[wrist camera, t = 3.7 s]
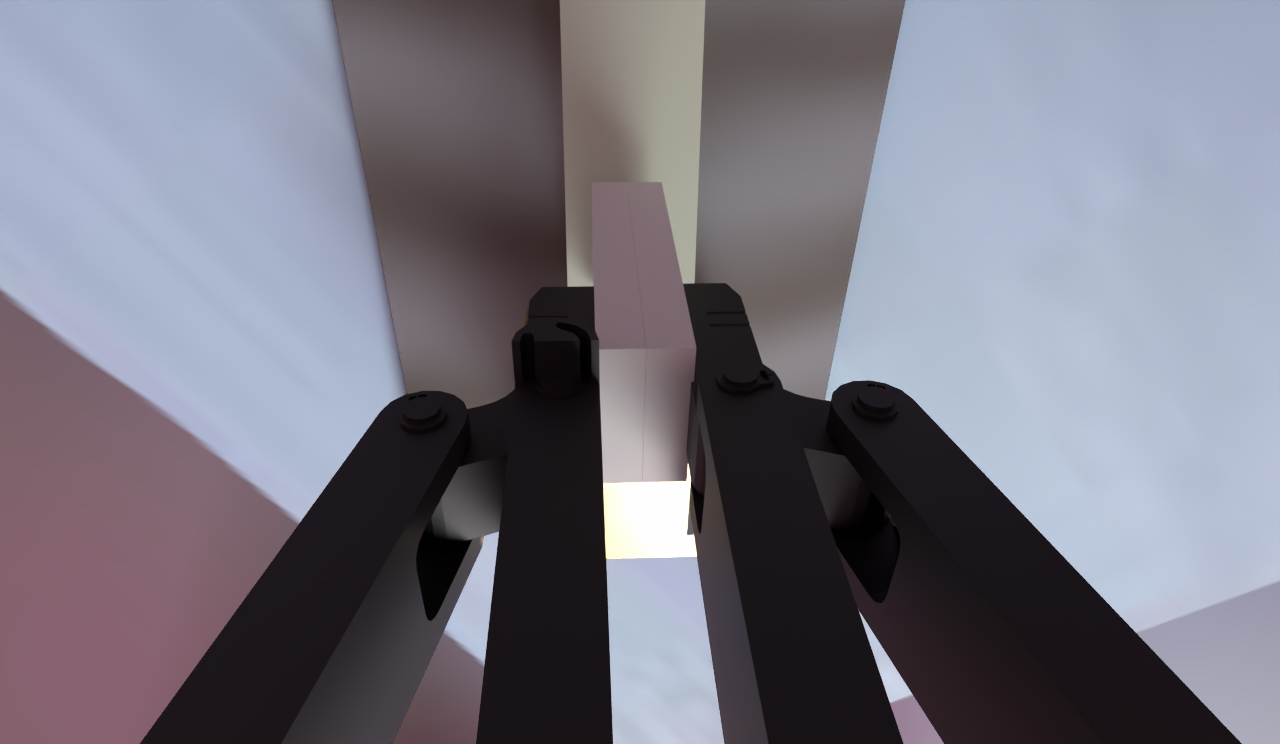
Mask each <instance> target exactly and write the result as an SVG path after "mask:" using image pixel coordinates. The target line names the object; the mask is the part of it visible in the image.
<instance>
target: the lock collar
mask: <svg viewBox="0 0 1280 744" xmlns="http://www.w3.org/2000/svg"><path fill="white" fill-rule="evenodd" d="M528 311H529V309H526V317H525V325H527V320H528ZM690 484H691V477H690V471H689V465H688V470H687V481H681V482H640V483H603V489H604V516H605V544H606V559H613V558H651V557H689V556H697V553H696V547H695V540H694V533H693V535H688V536H687V523H688V510H689V497H690Z"/></svg>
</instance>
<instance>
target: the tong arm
mask: <svg viewBox="0 0 1280 744" xmlns="http://www.w3.org/2000/svg"><path fill="white" fill-rule="evenodd" d="M704 24H705V0H560V27H561V64H562V101H563V138H564V175H565V212H566V248H567V285H568V287H581V286H593V239H592V182H662V187H663V192H664V196H665V201H666V206H667V211H668V215H669V220H670V225H671V229H672V234H673V239H674V244H675V248H676V253H677V258H678V263H679V267H680V272H681V277H682V282H683V284H689V283H695V259H696V233H697V207H698V180H699V154H700V128H701V102H702V76H703V50H704Z"/></svg>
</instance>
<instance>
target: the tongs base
mask: <svg viewBox="0 0 1280 744" xmlns="http://www.w3.org/2000/svg"><path fill="white" fill-rule="evenodd" d="M332 2H333V7H334V12H335V18H336V23H337V28H338V33H339V39H340V44H341V49H342V54H343V60H344V65H345V70H346V76H347V81H348V86H349V91H350V97H351V102H352V107H353V113H354V118H355V123H356V128H357V134H358V139H359V144H360V149H361V155H362V160H363V165H364V171H365V176H366V181H367V186H368V192H369V197H370V202H371V207H372V213H373V218H374V223H375V229H376V234H377V239H378V244H379V250H380V255H381V260H382V266H383V271H384V276H385V281H386V287H387V292H388V297H389V302H390V308H391V313H392V318H393V324H394V329H395V334H396V339H397V345H398V350H399V355H400V360H401V366H402V371H403V376H404V382H405V387H406V392H407V394H410V393H415V392H420V391H442V392H446V393H449V394H453V395H455V396H456V397H458V398H459V399H461V400H462V401H463V402H464V403H465V405H466V408H467V409H470V408H474V407H478V406H483V405H486V404H489V403H492V402H495V401H497V400H499V399H501V398H503V397H505V396H507V395H508V394H509V393H511V392H512V391H513V390H514V389H515V379H514V368H513V356H512V344H511V341H512V339H513V337H514V335H515V333H516V332H517V331H518V330H520V329H521V328H523V327H524V326H525V317H526V309H529V301H530V300H531V298H532V297H533V296H534V295H535V294H536V293H537V292H538V291H539V290H540V288H541V287H568V285H567V248H566V212H565V175H564V138H563V101H562V64H561V27H560V0H332ZM904 4H905V0H705V24H704V50H703V76H702V102H701V128H700V154H699V180H698V207H697V233H696V259H695V283H726V284H727V285H729V286H730V287H731V288H732V289H733V290H734V291H735V292H737V293H738V294H739V295H740V296H741V298H742V301H743V305H744V308H745V311H746V314H747V317H748V320H749V323H750V327H751V329H752V332H753V335H754V339H755V342H756V345H757V348H758V351H759V354H760V357H761V360H762V363H763V364H764V365H765V366H767V367H768V368H770V369H771V370H773V371H774V372H775V373H776V374H777V376H778V377H779V379H780V380H781V383H782V386H783V389H785V390H787V391H790V392H792V393H794V394H798V395H801V396H805V397H810V398H815V399H820V400H825V396H826V391H827V386H828V381H829V376H830V371H831V366H832V361H833V356H834V351H835V346H836V341H837V336H838V331H839V326H840V321H841V316H842V311H843V306H844V301H845V296H846V292H847V287H848V282H849V277H850V272H851V267H852V262H853V257H854V252H855V247H856V242H857V237H858V232H859V227H860V222H861V217H862V212H863V207H864V202H865V197H866V192H867V187H868V183H869V178H870V173H871V168H872V163H873V158H874V153H875V148H876V143H877V138H878V133H879V128H880V123H881V118H882V113H883V108H884V103H885V98H886V93H887V88H888V83H889V78H890V73H891V69H892V64H893V59H894V54H895V49H896V44H897V39H898V34H899V29H900V24H901V19H902V14H903V9H904Z"/></svg>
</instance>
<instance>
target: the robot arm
mask: <svg viewBox="0 0 1280 744" xmlns="http://www.w3.org/2000/svg"><path fill="white" fill-rule="evenodd" d="M592 239H593V286H581V287H541V288H540V290H539V291H538V292H537V293H536V294H535V295H534V296H533V297H532V298H531V300H530V301H529V311H528V320H527V325H525V326H524V327H523V328H521V329H520V330H518V331H517V332H516V333H515V335H514V337H513V339H512V341H511V344H512V356H513V368H514V379H515V389H514V390H513V391H512V392H511V393H509V394H508V395H507V396H505V397H503V398H501V399H499V400H497V401H495V402H492V403H489V404H486V405H483V406H478V407H474V408H470V409H467V408H466V405H465V403H464V402H463V401H462V400H461V399H459V398H458V397H456V396H455V395H453V394H449V393H446V392H442V391H420V392H415V393H410V394H406V395H404V396H402V397H400V398H398V399H396V400H394V401H391V402H390V403H389V404H388V405H387V406H386V407H385V408H384V409H383V410H382V411H381V412H380V413H379V414H378V416H377V417H376V419H375V420H374V421H373V423H372V424H371V426H370V427H369V428H368V430H367V431H366V432H365V434H364V435H363V437H362V438H361V439H360V441H359V442H358V443H357V445H356V446H355V448H354V449H353V450H352V452H351V453H350V455H349V456H348V457H347V459H346V460H345V461H344V463H343V464H342V466H341V467H340V468H339V470H338V471H337V472H336V474H335V475H334V477H333V478H332V479H331V481H330V482H329V483H328V485H327V486H326V488H325V489H324V490H323V492H322V493H321V495H320V496H319V497H318V499H317V500H316V501H315V503H314V504H313V506H312V507H311V508H310V510H309V511H308V512H307V514H306V515H305V517H304V518H303V519H302V521H301V522H300V524H299V525H298V526H297V528H296V529H295V530H294V532H293V533H292V535H291V536H290V537H289V539H288V540H287V541H286V543H285V544H284V546H283V547H282V548H281V550H280V551H279V553H278V554H277V555H276V557H275V558H274V560H273V561H272V562H271V564H270V565H269V566H268V568H267V569H266V570H265V572H264V573H263V575H262V576H261V577H260V579H259V580H258V582H257V583H256V584H255V586H254V587H253V588H252V590H251V591H250V592H249V594H248V595H247V597H246V598H245V599H244V601H243V602H242V604H241V605H240V606H239V608H238V609H237V610H236V612H235V613H234V615H233V616H232V617H231V619H230V620H229V621H228V623H227V624H226V626H225V627H224V628H223V630H222V631H221V633H220V634H219V635H218V637H217V638H216V639H215V641H214V642H213V644H212V645H211V646H210V648H209V649H208V650H207V652H206V653H205V655H204V656H203V657H202V659H201V660H200V662H199V663H198V664H197V666H196V667H195V669H194V670H193V671H192V673H191V674H190V675H189V677H188V678H187V679H186V681H185V682H184V684H183V685H182V686H181V688H180V689H179V690H178V692H177V693H176V695H175V696H174V697H173V699H172V700H171V702H170V703H169V704H168V706H167V707H166V708H165V710H164V711H163V713H162V714H161V715H160V717H159V718H158V719H157V721H156V722H155V724H154V725H153V726H152V728H151V729H150V730H149V732H148V733H147V735H146V736H145V737H144V739H143V740H142V742H141V743H140V744H393V742H394V739H395V737H396V735H397V733H398V731H399V728H400V726H401V724H402V722H403V720H404V717H405V715H406V713H407V711H408V709H409V706H410V704H411V702H412V700H413V698H414V695H415V693H416V691H417V689H418V687H419V684H420V682H421V680H422V677H423V676H424V673H425V671H426V669H427V667H428V665H429V662H430V660H431V658H432V656H433V653H434V651H435V649H436V647H437V645H438V642H439V640H440V638H441V636H442V634H443V632H444V629H445V627H446V625H447V623H448V620H449V618H450V616H451V614H452V612H453V609H454V607H455V605H456V603H457V601H458V598H459V596H460V594H461V592H462V590H463V587H464V585H465V583H466V581H467V579H468V576H469V574H470V572H471V570H472V568H473V565H474V563H475V561H476V559H477V557H478V554H479V552H480V550H481V548H482V544H483V538H484V536H485V535H488V534H492V533H495V532H499V538H498V547H497V556H496V566H495V575H494V584H493V593H492V602H491V612H490V621H489V630H488V639H487V648H486V658H485V667H484V676H483V685H482V694H481V704H480V713H479V722H478V731H477V740H476V744H613V734H612V706H611V679H610V652H609V625H608V598H607V571H606V544H605V516H604V489H603V483H640V482H681V481H687V470H688V465H689V471H690V477H691V484H690V497H689V510H688V523H687V536H688V535H693V533H694V540H695V547H696V553H697V560H698V567H699V574H700V581H701V587H702V594H703V601H704V608H705V614H706V621H707V628H708V635H709V642H710V648H711V655H712V662H713V669H714V676H715V682H716V689H717V696H718V703H719V709H720V716H721V723H722V730H723V737H724V743H725V744H903V741H902V738H901V735H900V732H899V729H898V726H897V723H896V720H895V717H894V714H893V711H892V709H891V706H890V703H889V700H888V697H887V694H886V691H885V688H884V685H883V682H882V679H881V676H880V673H879V670H878V667H877V664H876V661H875V658H874V655H873V652H872V649H871V646H870V643H869V640H868V637H867V634H866V632H865V629H864V626H863V623H862V620H861V617H860V614H859V611H860V613H861V614H862V616H863V617H864V619H865V620H866V622H867V624H868V625H869V627H870V628H871V630H872V631H873V633H874V635H875V636H876V638H877V639H878V641H879V642H880V644H881V645H882V647H883V649H884V650H885V652H886V653H887V655H888V656H889V658H890V660H891V661H892V663H893V664H894V666H895V667H896V669H897V671H898V672H899V674H900V675H901V677H902V678H903V680H904V681H905V683H906V685H907V686H908V688H909V689H910V691H911V692H912V694H913V695H914V697H915V699H916V700H917V702H918V703H919V705H920V706H921V708H922V710H923V711H924V713H925V714H926V716H927V717H928V719H929V721H930V722H931V724H932V725H933V727H934V728H935V730H936V731H937V733H938V735H939V736H940V737H941V739H942V741H943V742H944V744H1241V743H1240V741H1239V740H1238V739H1236V737H1235V736H1234V735H1233V734H1232V733H1231V732H1230V731H1229V730H1228V729H1227V728H1226V727H1225V726H1224V725H1223V724H1222V723H1221V722H1220V721H1219V720H1218V718H1217V717H1216V716H1215V715H1214V714H1213V713H1212V712H1211V711H1210V710H1209V709H1208V708H1207V707H1206V706H1205V705H1204V704H1203V703H1202V702H1201V701H1200V700H1199V699H1198V697H1197V696H1196V695H1195V694H1194V693H1193V692H1192V691H1191V690H1190V689H1189V688H1188V687H1187V686H1186V685H1185V684H1184V683H1183V682H1182V681H1181V680H1180V679H1179V678H1178V676H1177V675H1176V674H1174V672H1173V671H1172V670H1171V669H1170V668H1169V667H1168V666H1167V665H1166V664H1165V663H1164V662H1163V661H1162V660H1161V659H1160V658H1159V657H1158V656H1157V655H1156V654H1155V652H1154V651H1153V650H1152V649H1151V648H1150V647H1149V646H1148V645H1147V644H1146V643H1145V642H1144V641H1143V640H1142V639H1141V638H1140V637H1139V636H1138V635H1137V634H1136V632H1135V631H1134V630H1133V629H1132V628H1131V627H1130V626H1129V625H1128V624H1127V623H1126V622H1125V621H1124V620H1123V619H1122V618H1121V617H1120V616H1119V615H1118V614H1117V613H1116V612H1115V610H1114V609H1113V608H1112V607H1111V606H1110V605H1109V604H1108V603H1107V602H1106V601H1105V600H1104V599H1103V598H1102V597H1101V596H1100V595H1099V594H1098V593H1097V592H1096V591H1095V590H1094V588H1093V587H1092V586H1091V585H1090V584H1089V583H1088V582H1087V581H1086V580H1085V579H1084V578H1083V577H1082V576H1081V575H1080V574H1079V573H1078V572H1077V571H1076V570H1075V569H1074V568H1073V566H1072V565H1071V564H1070V563H1069V562H1068V561H1067V560H1066V559H1065V558H1064V557H1063V556H1062V555H1061V554H1060V553H1059V552H1058V551H1057V550H1056V549H1055V548H1054V547H1053V545H1052V544H1051V543H1050V542H1049V541H1048V540H1047V539H1046V538H1045V537H1044V536H1043V535H1042V534H1041V533H1040V532H1039V531H1038V530H1037V529H1036V528H1035V527H1034V526H1033V525H1032V523H1031V522H1030V521H1029V520H1028V519H1027V518H1026V517H1025V516H1024V515H1023V514H1022V513H1021V512H1020V511H1019V510H1018V509H1017V508H1016V507H1015V506H1014V505H1013V504H1012V503H1011V501H1010V500H1009V499H1008V498H1007V497H1006V496H1005V495H1004V494H1003V493H1002V492H1001V491H1000V490H999V489H998V488H997V487H996V486H995V485H994V484H993V483H992V482H991V481H990V479H989V478H988V477H987V476H986V475H985V474H984V473H983V472H982V471H981V470H980V469H979V468H978V467H977V466H976V465H975V464H974V463H973V462H972V461H971V460H970V459H969V457H968V456H967V455H966V454H965V453H964V452H963V451H962V450H961V449H960V448H959V447H958V446H957V445H956V444H955V443H954V442H953V441H952V440H951V439H950V438H949V437H948V435H947V434H946V433H945V432H944V431H943V430H942V429H941V428H940V427H939V426H938V425H937V424H936V423H935V422H934V421H933V420H932V419H931V418H930V417H929V416H928V414H927V413H926V412H925V411H924V410H923V409H922V408H921V407H920V406H919V405H918V404H917V403H916V402H915V401H914V400H913V399H912V398H911V397H910V396H908V395H907V394H906V393H904V392H903V391H902V390H900V389H897V388H895V387H893V386H890V385H888V384H885V383H880V382H875V381H852V382H850V383H847V384H844V385H841V386H840V387H838V388H837V389H836V390H835V391H834V392H833V394H832V399H831V401H826V400H820V399H815V398H810V397H805V396H801V395H798V394H794V393H792V392H790V391H787V390H785V389H783V386H782V383H781V380H780V379H779V377H778V376H777V374H776V373H775V372H774V371H773V370H771V369H770V368H768V367H767V366H765V365H764V364H763V363H762V360H761V357H760V354H759V351H758V348H757V345H756V342H755V339H754V335H753V332H752V329H751V327H750V323H749V320H748V317H747V314H746V311H745V308H744V305H743V301H742V298H741V296H740V295H739V294H738V293H737V292H735V291H734V290H733V289H732V288H731V287H730V286H729V285H727V284H726V283H689V284H683V282H682V277H681V272H680V267H679V263H678V258H677V253H676V248H675V244H674V239H673V234H672V229H671V225H670V220H669V215H668V211H667V206H666V201H665V196H664V192H663V187H662V182H592ZM858 610H859V611H858Z"/></svg>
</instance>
